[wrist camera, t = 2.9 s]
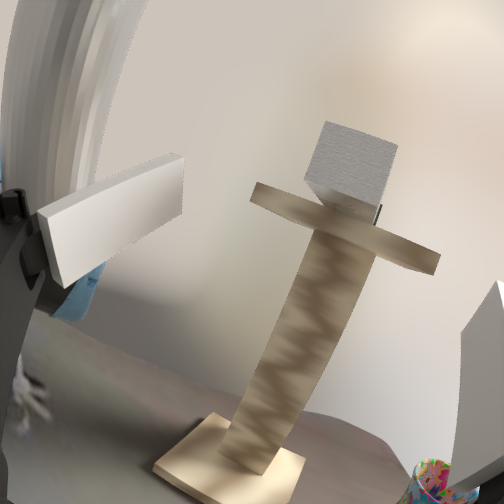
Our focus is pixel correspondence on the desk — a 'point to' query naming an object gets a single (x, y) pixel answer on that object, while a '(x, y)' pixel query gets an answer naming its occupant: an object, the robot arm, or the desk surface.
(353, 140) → the metal block
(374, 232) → the birch stand
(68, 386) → the desk surface
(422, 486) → the multicoloured narrow piece
